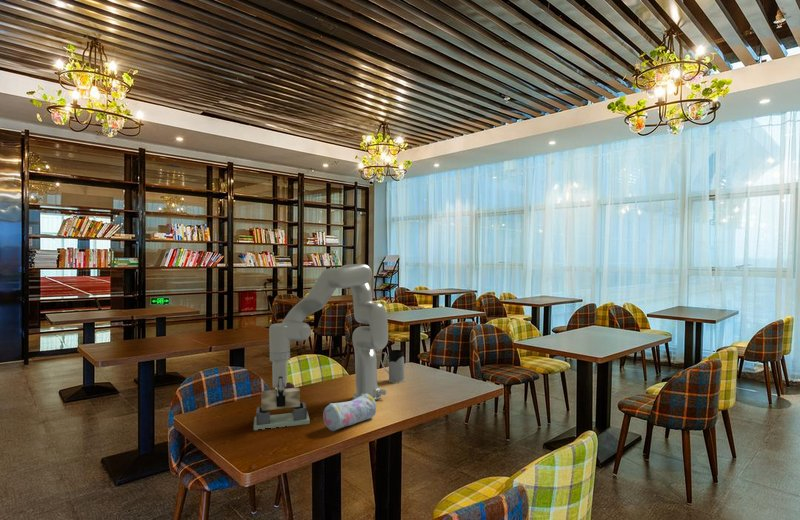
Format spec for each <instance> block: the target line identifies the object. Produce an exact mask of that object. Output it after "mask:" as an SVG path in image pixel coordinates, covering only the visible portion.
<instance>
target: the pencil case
mask: <svg viewBox="0 0 800 520" xmlns="http://www.w3.org/2000/svg"><path fill="white" fill-rule="evenodd" d="M376 413H377V404H376V400H374V398H373V397H372V396H370V395H369V394H367V393H365V394H363V393H362V394H361V395H360V396H359V397H357V398H356V399H351V400H349V401H342V402H334V403H329V404H328V405H327V406H326V407H325V408H324V410H323V413H322V414H323V415H322V418H323V419H322V420H323V422H324V424H325V426H326V427H327V428H328V430H330V431H331V432H335V431H338V430H340V429H342V428H345V427H349V426H351V425H352V426H353V425H355V424H358V423H361V422H363V421H367V420H370V419H371V418H373V417H374V416H375V415H376Z"/></svg>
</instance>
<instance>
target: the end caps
mask: <svg viewBox="0 0 800 520" xmlns="http://www.w3.org/2000/svg"><path fill="white" fill-rule="evenodd" d="M307 412H308V410H307V406H306V402H305V401H302V402H301V401H300V407H292V413H293V415H294V421H296V420H305V419H307ZM255 413H256V415H255V417H256V422H257V425H262V424H270V415H271V410H264V411H262V408H261V406H257V407H256V412H255Z"/></svg>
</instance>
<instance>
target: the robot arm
mask: <svg viewBox="0 0 800 520" xmlns="http://www.w3.org/2000/svg"><path fill="white" fill-rule="evenodd" d="M372 277H373V271H372V268H371V267H370V266H369V265H368V264H365V263H352V264H344V265H342V266H340V267H331V268H325V269H324V270H323V271H322V272H321V274H320V275H319V277H318V278H317V280H316V281H315V283H314V284H313V285H312V287H311V289H310V290H309V292H308V293H307V295H306V296H305V297H304V298H302V299H301V300H300V301H299V302H297V304H295V305H294V306H293V307H292V308H291V309H290V310H289V311H288V312H287V314H286V316H285V317H284V319H283V321H282V322H278V323H277V322H276V323H272V324H270V326H269V331H268V333H269V334H268V335H269V342H268V343H269V361H270V362H272V369H271V370H272V372H271V373H272V388H273V390H277V396H276V403H277V407H283V406H285V390H284V388H285V387H286V383H288V361H290V360H291V342H303V341H306V340H307V339H309V337H311V334H312V328H311V326H310V325H309V323H306V322H304V320H305V319H306V318H308V316H310V315H312V314H314V313H316V312H319V311H320V310H322V309H323V308H325V306H326V305H327V304H328V302H329V300H330V299H331V298H332V295H334V292H335V291H336V290H337V289H340V290H341V289H342V290H343V289H348V288H349V289H350V291H351V293H352V303H353V317H354V319H355V321H356V322H357V323H360V324H364V325H365V324H366V325H367V326H364V325H362V326H361V325H360V326H358V327H357V328H355V329H354V331H353V332H352V334H351V335H352V336H351V337H352V339H351V341H352V344H353V349H354V362H355V363H354V365H355V366H354V367H355V369H354V370H355V371H354V373H355V393H354V394H353V395H352V400H354V399H356V398H357V397H359V396H360V395H361V394H362V393H363V394H365V393H367V394H369V395H370V396H372V397H373V398H374V400H375V401H377V400H380V399H381V397H382V396H386V395H387V390H386V389H381V388H380V385H378V365H377V363H378V361H377V352H376V351H381V350H383V349H385V348H386V346H387V345H388V342H389V327H388V326H389V323H388V322H389V321H388V313H387V310H386V307H385V306H384V305H383V304H382V303H380V302H374V301H373V292H372V287H371V285H370V283H369V282H370V281H371V279H372ZM368 325H369V326H368ZM282 386H283V387H282ZM275 388H276V389H275ZM278 389H279V390H278ZM278 393H279V394H278ZM278 395H279V396H278Z"/></svg>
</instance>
